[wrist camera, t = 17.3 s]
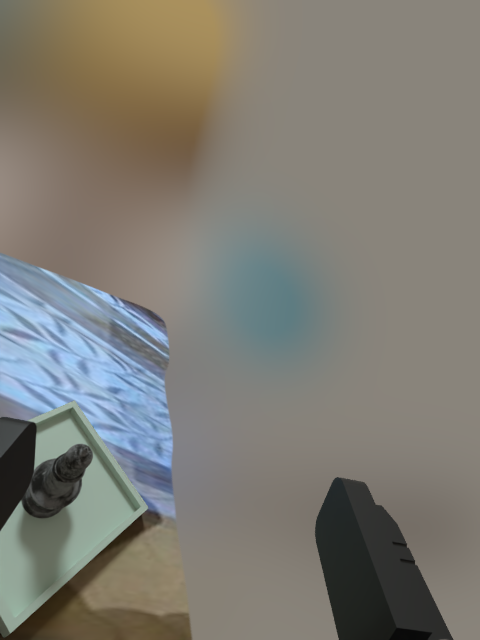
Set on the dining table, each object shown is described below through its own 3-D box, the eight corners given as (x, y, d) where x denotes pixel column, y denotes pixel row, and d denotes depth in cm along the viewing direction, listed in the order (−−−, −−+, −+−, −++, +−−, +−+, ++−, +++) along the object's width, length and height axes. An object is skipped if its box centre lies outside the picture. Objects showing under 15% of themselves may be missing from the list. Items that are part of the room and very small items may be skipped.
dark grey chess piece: (79, 498, 46) (123, 455, 40) (37, 532, 41) (80, 487, 35) (53, 462, 47) (92, 414, 41) (7, 490, 42) (45, 440, 36)
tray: (3, 638, 34) (10, 633, 33) (-87, 476, 38) (-83, 467, 37) (141, 513, 50) (148, 507, 50) (69, 407, 54) (74, 400, 53)
